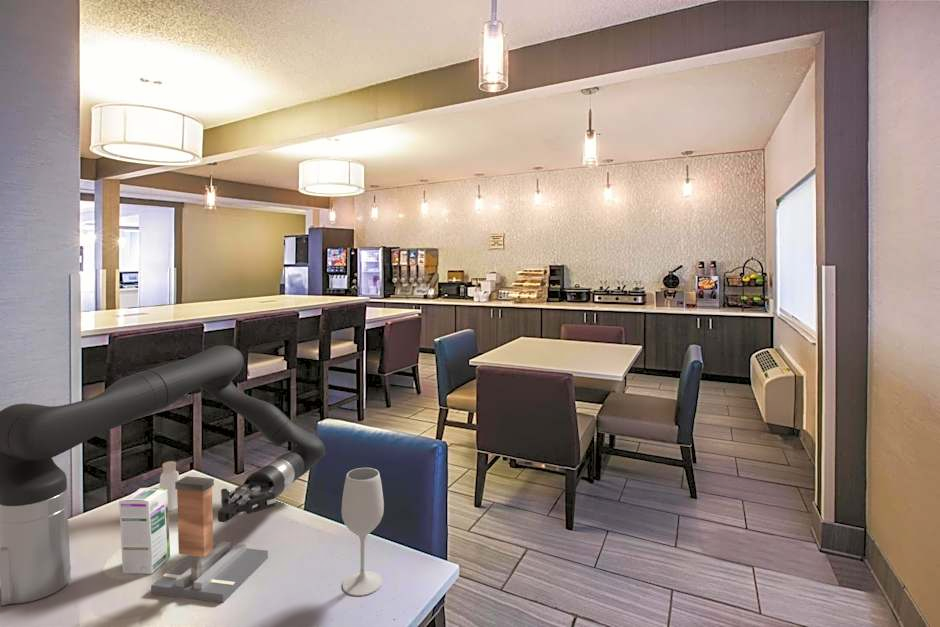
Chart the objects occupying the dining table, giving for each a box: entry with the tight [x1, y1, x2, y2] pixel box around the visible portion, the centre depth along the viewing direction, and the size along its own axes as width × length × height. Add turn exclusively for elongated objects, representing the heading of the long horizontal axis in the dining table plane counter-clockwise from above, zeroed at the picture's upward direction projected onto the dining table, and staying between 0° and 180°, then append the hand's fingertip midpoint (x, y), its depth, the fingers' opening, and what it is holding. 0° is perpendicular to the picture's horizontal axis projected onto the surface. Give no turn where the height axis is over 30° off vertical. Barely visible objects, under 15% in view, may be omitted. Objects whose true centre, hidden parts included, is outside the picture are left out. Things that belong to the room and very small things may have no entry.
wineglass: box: [341, 467, 385, 597], centre depth 91 cm, size 8×8×21 cm
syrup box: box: [118, 487, 171, 575], centre depth 96 cm, size 6×6×14 cm
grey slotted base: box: [150, 541, 269, 604], centre depth 94 cm, size 14×14×3 cm
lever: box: [175, 475, 215, 581], centre depth 88 cm, size 3×5×18 cm, turn 81°
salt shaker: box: [158, 460, 181, 512], centre depth 120 cm, size 5×5×11 cm
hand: (221, 517), depth 95 cm, fingers closed
